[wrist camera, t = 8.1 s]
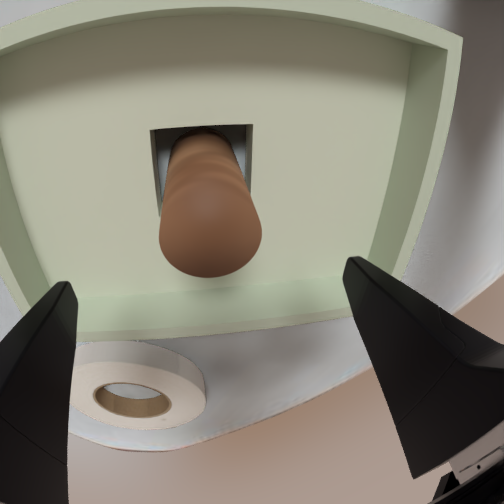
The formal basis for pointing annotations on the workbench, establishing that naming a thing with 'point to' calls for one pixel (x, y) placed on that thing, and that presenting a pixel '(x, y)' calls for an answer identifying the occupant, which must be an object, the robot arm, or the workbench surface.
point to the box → (216, 113)
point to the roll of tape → (138, 373)
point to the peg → (207, 208)
